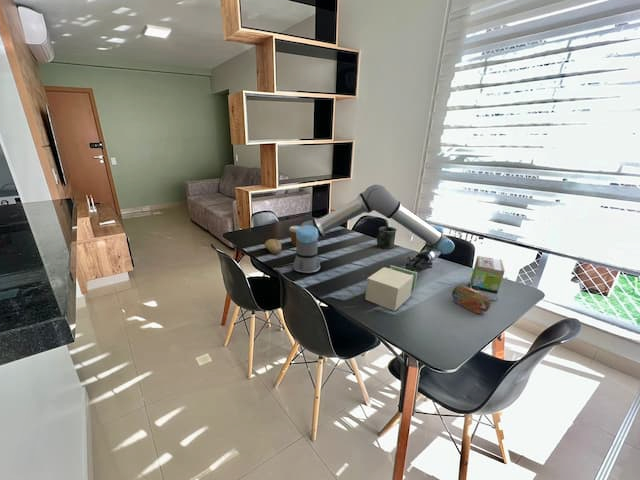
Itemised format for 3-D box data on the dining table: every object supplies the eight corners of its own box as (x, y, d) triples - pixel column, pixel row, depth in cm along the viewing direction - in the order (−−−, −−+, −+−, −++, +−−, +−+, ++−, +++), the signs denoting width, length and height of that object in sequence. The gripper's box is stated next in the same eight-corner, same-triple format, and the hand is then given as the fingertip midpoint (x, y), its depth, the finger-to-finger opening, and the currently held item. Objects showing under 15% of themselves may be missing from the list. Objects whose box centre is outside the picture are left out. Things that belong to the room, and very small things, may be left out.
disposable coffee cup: (302, 246, 194) (302, 229, 189) (288, 246, 196) (288, 229, 191) (303, 242, 202) (304, 225, 198) (290, 241, 204) (290, 225, 200)
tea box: (496, 301, 126) (505, 271, 121) (469, 295, 131) (476, 266, 126) (494, 287, 138) (502, 258, 133) (469, 282, 143) (476, 254, 138)
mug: (397, 247, 190) (400, 229, 186) (382, 251, 184) (384, 233, 179) (384, 242, 199) (386, 225, 195) (369, 246, 192) (371, 229, 188)
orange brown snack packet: (450, 299, 128) (454, 283, 125) (454, 298, 129) (459, 281, 126) (483, 317, 115) (489, 299, 112) (488, 315, 117) (494, 297, 113)
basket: (392, 278, 146) (394, 262, 143) (418, 286, 138) (421, 269, 135) (374, 291, 134) (376, 274, 131) (401, 301, 126) (404, 283, 122)
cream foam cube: (381, 287, 140) (384, 267, 136) (409, 297, 131) (413, 275, 127) (365, 299, 130) (367, 278, 126) (394, 311, 121) (398, 288, 117)
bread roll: (274, 246, 196) (274, 235, 193) (285, 253, 183) (285, 241, 180) (261, 248, 191) (261, 237, 188) (271, 256, 179) (271, 244, 176)
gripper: (436, 267, 153) (419, 283, 137) (411, 261, 161) (393, 274, 146) (438, 254, 150) (422, 268, 135) (413, 248, 159) (394, 261, 143)
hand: (406, 271), depth 140 cm, fingers closed
